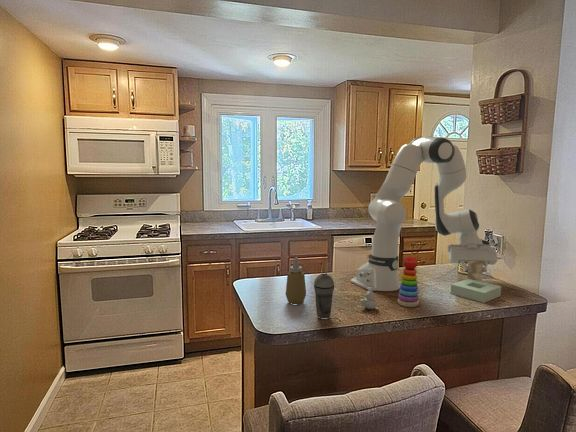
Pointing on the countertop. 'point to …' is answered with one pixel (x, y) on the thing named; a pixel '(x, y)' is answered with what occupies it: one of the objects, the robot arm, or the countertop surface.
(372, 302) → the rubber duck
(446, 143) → the robot arm
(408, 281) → the stacking toy
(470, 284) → the socket block
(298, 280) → the squeeze bottle
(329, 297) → the beverage cup
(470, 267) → the peg
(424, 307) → the countertop surface
